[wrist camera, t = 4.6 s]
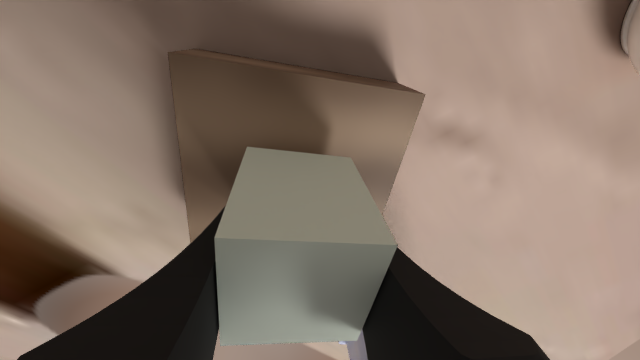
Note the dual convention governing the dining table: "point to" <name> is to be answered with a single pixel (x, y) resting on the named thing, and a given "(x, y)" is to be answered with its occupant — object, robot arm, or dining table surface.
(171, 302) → the robot arm
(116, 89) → the dining table surface
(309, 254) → the sage block
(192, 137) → the walnut box
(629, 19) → the lidded jar
